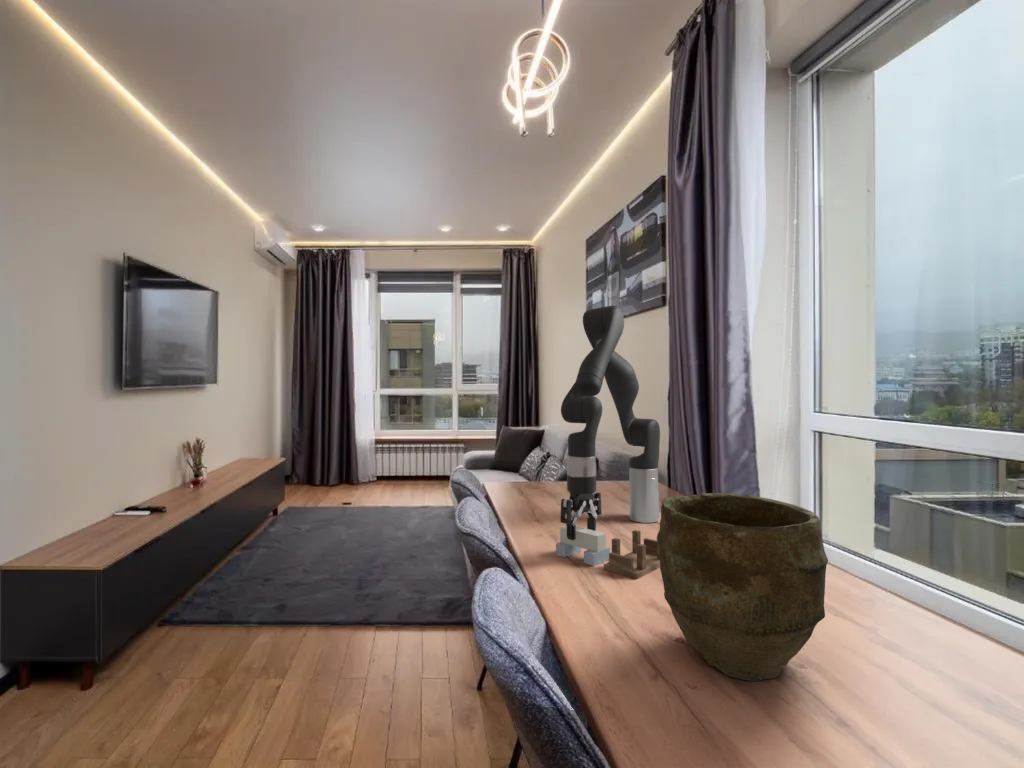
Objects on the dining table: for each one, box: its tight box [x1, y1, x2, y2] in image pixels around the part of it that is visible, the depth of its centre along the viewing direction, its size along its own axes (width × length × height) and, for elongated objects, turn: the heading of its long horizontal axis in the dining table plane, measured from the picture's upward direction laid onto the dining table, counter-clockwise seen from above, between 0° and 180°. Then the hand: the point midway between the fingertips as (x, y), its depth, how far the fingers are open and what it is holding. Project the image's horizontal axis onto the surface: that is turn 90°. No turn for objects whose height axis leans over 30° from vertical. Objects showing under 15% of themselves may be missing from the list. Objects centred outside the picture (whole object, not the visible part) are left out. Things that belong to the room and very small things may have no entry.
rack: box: [603, 529, 660, 580], centre depth 126 cm, size 17×9×7 cm, turn 135°
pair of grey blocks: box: [555, 541, 611, 567], centre depth 132 cm, size 7×12×3 cm, turn 45°
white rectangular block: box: [559, 524, 607, 552], centre depth 132 cm, size 4×12×4 cm, turn 45°
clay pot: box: [656, 492, 829, 682], centre depth 84 cm, size 25×25×25 cm
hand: (581, 536), depth 132 cm, fingers open, 8 cm apart
